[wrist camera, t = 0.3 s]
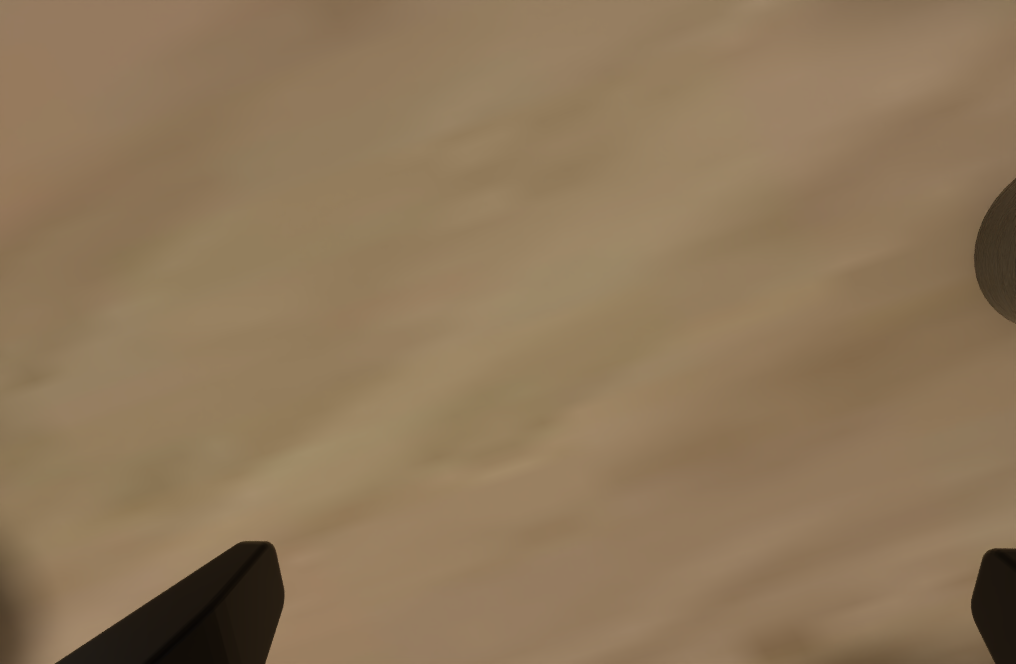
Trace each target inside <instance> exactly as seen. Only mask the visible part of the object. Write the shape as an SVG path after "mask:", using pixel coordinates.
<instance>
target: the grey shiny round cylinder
mask: <svg viewBox="0 0 1016 664" xmlns="http://www.w3.org/2000/svg"><path fill="white" fill-rule="evenodd" d="M974 261H975V271H976V277H977V280H978V283H979V286H980V289H981V291H982V292H983V294H984V296H985V298H986V299H987V301H988V302H989V303H990V305H991V306H992V307H993V308H994V309H995V310H996V311H997V312H998V313H999V314H1001V315H1002V316H1004V317H1005V318H1006V319H1008V320H1010V321H1012V322H1013V323H1015V324H1016V179H1015V180H1014V181H1013V182H1012V183H1011V184H1009V185H1008V186H1007V187H1006V188H1005V189H1004V190H1003V191H1002V193H1001V194H1000V195H999V196H998V197H997V198H996V200H995V201H994V203H993V204H992V206H991V207H990V208H989V210H988V212H987V214H986V216H985V218H984V219H983V222H982V224H981V227H980V229H979V232H978V236H977V240H976V244H975V254H974Z"/></svg>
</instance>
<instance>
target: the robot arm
mask: <svg viewBox="0 0 1016 664" xmlns="http://www.w3.org/2000/svg"><path fill="white" fill-rule="evenodd" d="M283 605H284V586H283V581H282V577H281V572H280V568H279V563H278V558H277V554H276V550H275V547H274V546H273V544H271V543H270V542H267V541H243V542H240V543H238V544H236V545H234V546H233V547H231V548H230V549H228V550H227V551H225V552H224V553H222V554H221V555H219V556H218V557H216V558H215V559H213V560H212V561H210V562H209V563H207V564H205V565H204V566H202V567H201V568H199V569H198V570H196V571H195V572H193V573H192V574H190V575H189V576H187V577H186V578H184V579H183V580H181V581H180V582H178V583H177V584H175V585H174V586H172V587H171V588H169V589H168V590H166V591H164V592H163V593H161V594H160V595H158V596H157V597H155V598H154V599H152V600H151V601H149V602H148V603H146V604H145V605H143V606H142V607H140V608H139V609H137V610H136V611H134V612H133V613H131V614H130V615H128V616H127V617H125V618H124V619H122V620H120V621H119V622H117V623H116V624H114V625H113V626H111V627H110V628H108V629H107V630H105V631H104V632H102V633H101V634H99V635H98V636H96V637H95V638H93V639H92V640H90V641H89V642H87V643H86V644H84V645H82V646H81V647H79V648H78V649H76V650H75V651H73V652H72V653H70V654H69V655H67V656H66V657H64V658H63V659H61V660H60V661H58V662H57V663H55V664H265V663H266V659H267V656H268V653H269V650H270V647H271V644H272V641H273V638H274V634H275V631H276V628H277V625H278V622H279V619H280V616H281V612H282V609H283ZM971 610H972V615H973V618H974V621H975V624H976V626H977V628H978V630H979V632H980V634H981V636H982V638H983V640H984V642H985V644H986V646H987V648H988V650H989V652H990V654H991V656H992V658H993V660H994V662H995V664H1016V549H1008V548H995V549H991V550H988V551H987V552H986V553H985V554H984V556H983V559H982V562H981V566H980V569H979V573H978V577H977V580H976V584H975V588H974V591H973V595H972V599H971Z"/></svg>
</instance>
